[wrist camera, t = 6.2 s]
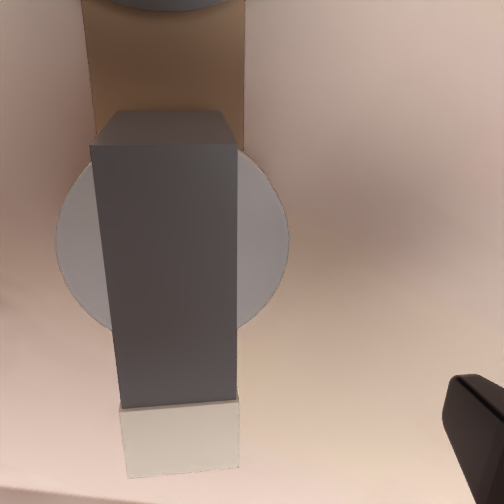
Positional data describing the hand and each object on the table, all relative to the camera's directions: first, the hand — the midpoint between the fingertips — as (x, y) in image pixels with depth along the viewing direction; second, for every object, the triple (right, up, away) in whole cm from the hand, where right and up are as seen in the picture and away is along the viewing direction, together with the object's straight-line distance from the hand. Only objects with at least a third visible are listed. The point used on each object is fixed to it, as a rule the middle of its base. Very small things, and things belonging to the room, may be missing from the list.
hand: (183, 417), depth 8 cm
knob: (-1, +3, +7) cm, 7 cm away
